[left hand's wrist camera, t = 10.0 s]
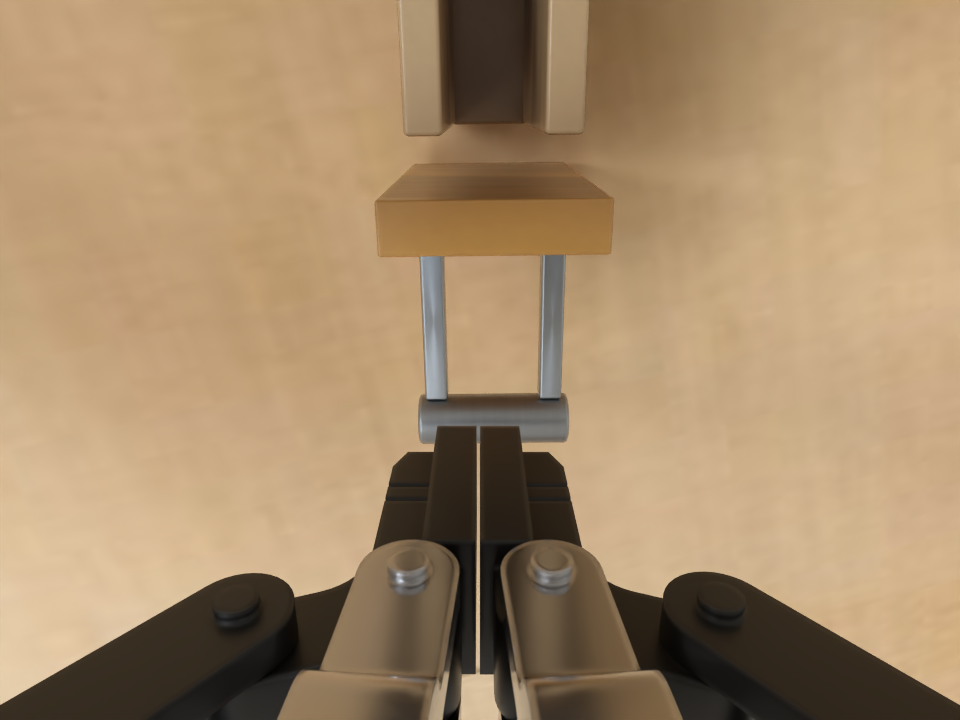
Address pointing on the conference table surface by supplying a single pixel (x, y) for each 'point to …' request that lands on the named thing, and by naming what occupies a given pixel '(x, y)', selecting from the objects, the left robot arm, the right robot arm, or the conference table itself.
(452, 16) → the drawer
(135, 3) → the conference table surface
